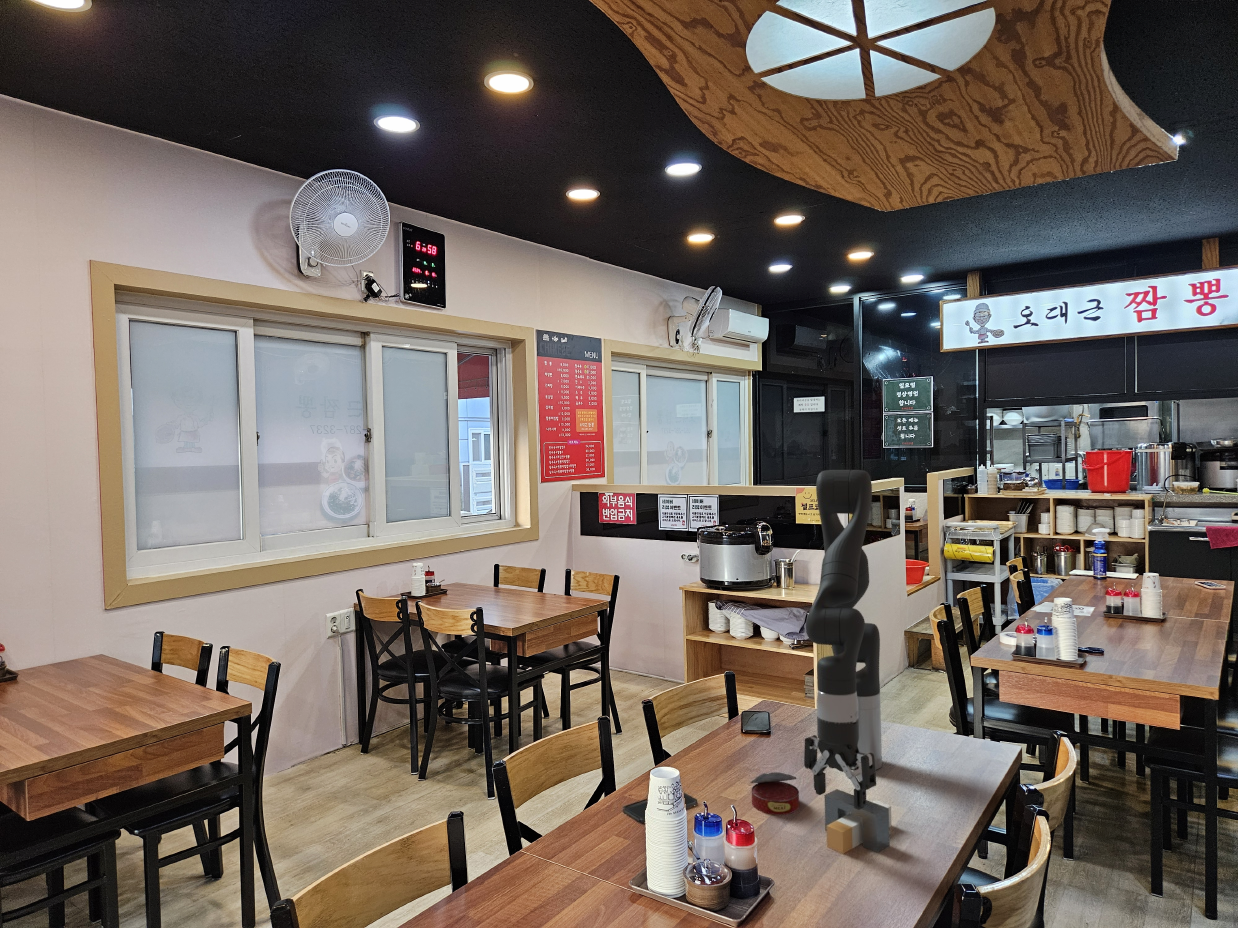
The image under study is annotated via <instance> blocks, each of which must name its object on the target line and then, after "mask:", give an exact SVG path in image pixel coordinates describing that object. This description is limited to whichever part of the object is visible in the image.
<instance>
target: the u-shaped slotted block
mask: <svg viewBox="0 0 1238 928" xmlns="http://www.w3.org/2000/svg"><path fill="white" fill-rule="evenodd" d="M850 813H852V814H855V815H857V816H860V817H862V822H863V843H862V847H863V848H865V849H868V850H869V851H872V852H874V853H879V852H882V850H885V849H886V848H888V847H890V844H891V843H890V827H889V808H886V807H884V806H881V805H878V804H876V803H873V802H872V801H870V800H868V799H866V805H865V806H864V808H862V809H860V810H857V809H855V808H854V794H851V793H848V792H846V791H844V790H840V789H838V788H835V789H834V790H832V791H830V792H827V793H826V794H825V793H824V826H825V828H824V829H825V831H826V832H827V825H829V824H831V823H833V822H835V821H836V820H838V819H840V818H842V817H844V816H846V815H848V814H850Z"/></svg>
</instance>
